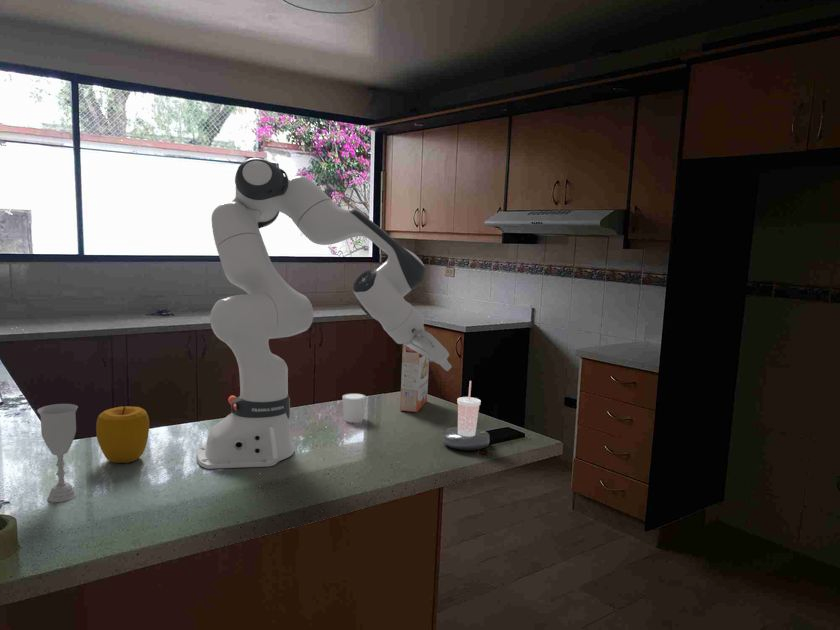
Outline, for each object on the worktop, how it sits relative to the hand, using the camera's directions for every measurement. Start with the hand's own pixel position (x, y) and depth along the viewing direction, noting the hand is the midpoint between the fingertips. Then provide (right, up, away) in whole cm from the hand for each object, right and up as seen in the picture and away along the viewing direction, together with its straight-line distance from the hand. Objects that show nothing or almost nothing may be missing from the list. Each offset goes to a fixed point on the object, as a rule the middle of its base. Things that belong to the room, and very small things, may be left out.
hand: (440, 363), depth 153 cm
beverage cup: (+7, -19, +6) cm, 21 cm away
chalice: (-76, -24, -31) cm, 86 cm away
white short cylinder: (-24, -18, +25) cm, 39 cm away
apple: (-73, -22, -12) cm, 77 cm away
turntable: (+7, -22, +6) cm, 23 cm away
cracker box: (-7, -17, +40) cm, 44 cm away
